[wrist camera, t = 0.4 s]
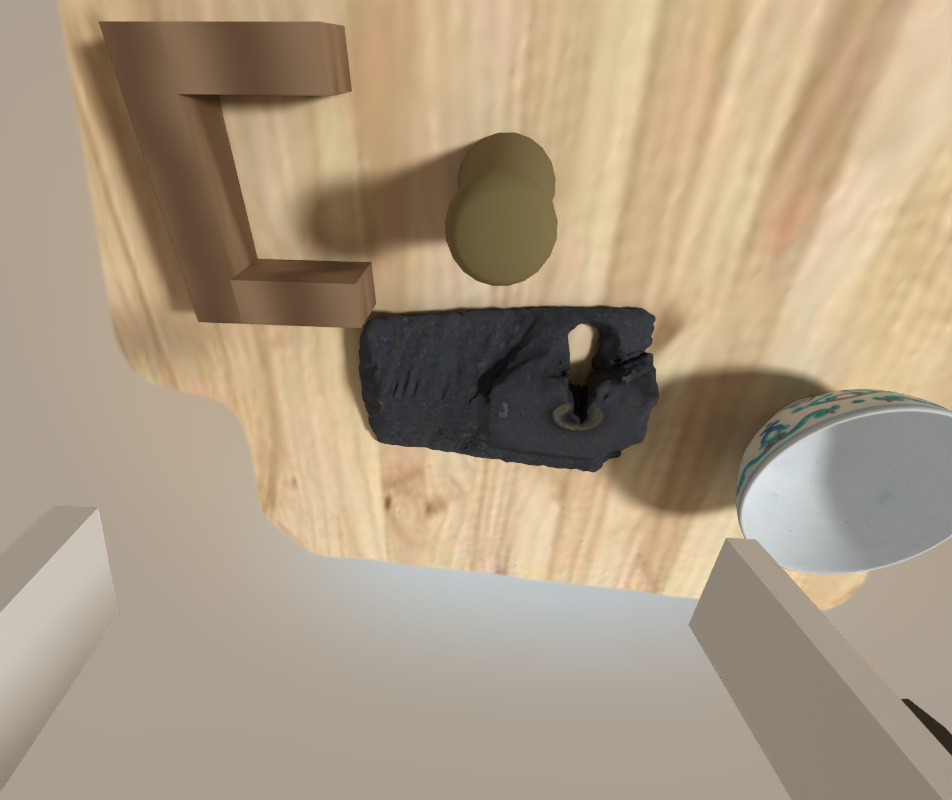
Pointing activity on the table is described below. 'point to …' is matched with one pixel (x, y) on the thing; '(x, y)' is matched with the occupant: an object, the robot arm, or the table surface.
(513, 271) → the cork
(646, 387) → the dark slate chunk
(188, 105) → the walnut pocket
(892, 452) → the chinaware
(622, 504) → the table surface
